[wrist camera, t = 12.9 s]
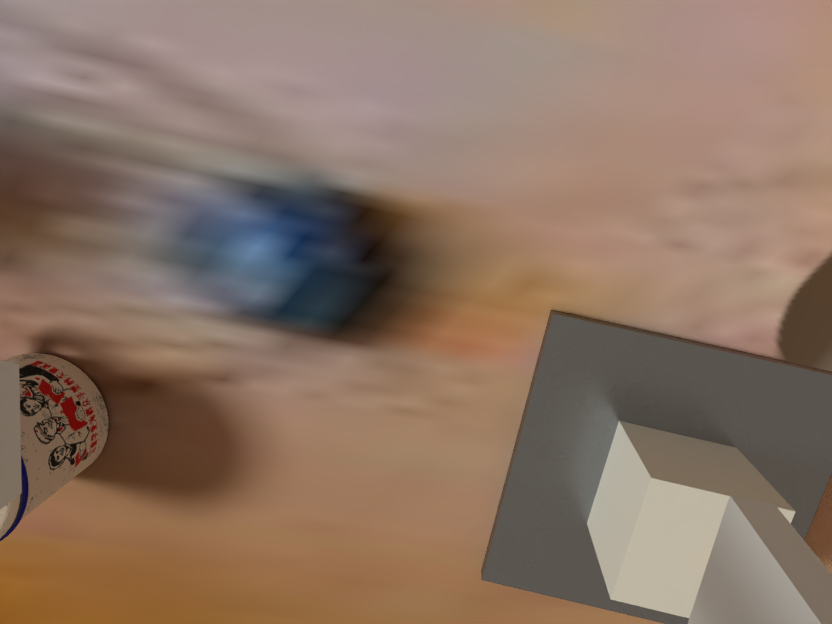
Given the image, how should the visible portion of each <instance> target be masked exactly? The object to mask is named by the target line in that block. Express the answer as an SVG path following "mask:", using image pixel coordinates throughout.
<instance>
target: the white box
mask: <svg viewBox="0 0 832 624" xmlns="http://www.w3.org/2000/svg"><path fill="white" fill-rule="evenodd" d="M730 495H731V496H737V497H742V498H747V499H753V500H758V501H764V502H769V503H774V504H775V505H776V507H777V508H778V509H779V510H780V511H781V513H782V514H783V515H784V516H785V518H786V519H787V520H788V521H789V523H790V524H791V522H792V519H793V517H794V514H795V512H796V511H795V510H794V509H793V508H792V507H791V506H790V505H789V504H788V503H787V502H786V501H785V500H784V498H783V497H782V496H781V495H780V494H779V493H778V492H777V491H776V490H775V489H774V488H773V486H772V485H771V484H770V483H769V482H768V481H767V480H766V479H765V478H764V477H763V476H762V475H761V473H760V472H759V471H758V470H757V469H756V468H755V467H754V466H753V465H752V464H751V463H750V462H749V460H748V459H747V458H746V457H745V456H744V455H743V454H742V453H741V452H740V451H739V450H738V449H737V448H736V447H731V446H727V445H723V444H718V443H714V442H710V441H705V440H701V439H696V438H692V437H688V436H683V435H679V434H675V433H670V432H666V431H662V430H657V429H653V428H649V427H644V426H640V425H636V424H631V423H627V422H623V421H619V422H618V425H617V429H616V432H615V435H614V438H613V441H612V445H611V448H610V451H609V454H608V457H607V461H606V464H605V467H604V470H603V473H602V477H601V480H600V483H599V486H598V489H597V492H596V496H595V499H594V502H593V505H592V508H591V512H590V515H589V518H588V521H587V526H588V529H589V532H590V535H591V538H592V542H593V545H594V548H595V551H596V554H597V558H598V561H599V564H600V567H601V570H602V574H603V577H604V580H605V583H606V586H607V590H608V593H609V596H610V599H611V600H615V601H619V602H624V603H628V604H632V605H636V606H640V607H644V608H648V609H653V610H657V611H661V612H665V613H669V614H673V615H677V616H682V617H686V618H689V617H690V614H691V611H692V608H693V605H694V602H695V599H696V596H697V593H698V590H699V587H700V584H701V581H702V578H703V575H704V572H705V569H706V566H707V563H708V560H709V557H710V554H711V551H712V548H713V545H714V542H715V539H716V536H717V533H718V530H719V527H720V524H721V521H722V518H723V515H724V512H725V509H726V506H727V503H728V500H729V497H730Z"/></svg>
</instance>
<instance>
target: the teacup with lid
mask: <svg viewBox="0 0 832 624" xmlns="http://www.w3.org/2000/svg"><path fill="white" fill-rule="evenodd" d="M4 361H6V362H11V363H17V364H19V382H20V432H21V481H22V493H21V494H20V495H19V496H17V497H16V498H15V499H13V500H12V501H11V502H10V503H8V504H7V505H6V506H4V507H3V508H2V509H1V510H0V541H1V540H3V539H4V538H5V537H7V536H8V535H9V534H10V533H11V532H12V531H13V530H14V529H15V527H16V526H17V525H18V523H19V522H20V520H21V519H22V518H23V517H25V516H26V515H27V514H29V513H30V512H31V511H32V510H34V509H35V508H36V507H37V506H39V505H40V504H41V503H42V502H44V501H45V500H46V499H48V498H49V497H50V496H51V495H53V494H54V493H55V492H56V491H58V490H59V489H60V488H61V487H63V486H64V485H65V484H67V483H68V482H69V481H70V480H72V479H73V478H74V477H75V476H77V475H78V474H79V473H81V472H82V471H83V470H84V469H86V468H87V467H88V466H89V465H91V464H92V463H93V462H94V461H95V460H96V458H97V457H98V456H99V454H100V453H101V451H102V449H103V447H104V445H105V442H106V439H107V435H108V424H109V422H108V414H107V409H106V405H105V403H104V400H103V398H102V396H101V394H100V392H99V390H98V389H97V387H96V386H95V384H94V383H93V382H92V380H91V379H90V378H89V377H88V376H87V375H86V374H85V373H84V372H83V371H81V370H80V369H79V368H78V367H76V366H75V365H73V364H72V363H70V362H68V361H66V360H64V359H62V358H59V357H56V356H53V355H48V354H42V353H27V354H22V355H18V356H14V357H12V358H9V359H7V360H4Z"/></svg>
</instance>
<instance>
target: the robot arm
mask: <svg viewBox="0 0 832 624" xmlns="http://www.w3.org/2000/svg"><path fill="white" fill-rule="evenodd" d="M21 493H22V481H21V432H20V382H19V364H17V363H11V362H6V361H0V510H1V509H2V508H3V507H4V506H6V505H7V504H8V503H10V502H11V501H12V500H13V499H15V498H16V497H17V496H19V495H20V494H21ZM688 624H832V574H831V573H830V572H829V570H828V569H827V568H826V567H825V565H824V564H823V563H822V562H821V561H820V559H819V558H818V557H817V556H816V554H815V553H814V552H813V551H812V550H811V548H810V547H809V546H808V545H807V543H806V542H805V541H804V540H803V538H802V537H801V536H800V535H799V534H798V532H797V531H796V530H795V529H794V527H793V526H792V525H791V524H790V523H789V521H788V520H787V519H786V518H785V516H784V515H783V514H782V513H781V511H780V510H779V509H778V508H777V507H776V505H775V504H774V503H769V502H764V501H758V500H753V499H747V498H742V497H737V496H731V495H730V497H729V500H728V503H727V506H726V509H725V512H724V515H723V518H722V521H721V524H720V527H719V530H718V533H717V536H716V539H715V542H714V545H713V548H712V551H711V554H710V557H709V560H708V563H707V566H706V569H705V572H704V575H703V578H702V581H701V584H700V587H699V590H698V593H697V596H696V599H695V602H694V605H693V608H692V611H691V614H690V617H689V620H688Z"/></svg>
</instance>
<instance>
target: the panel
mask: <svg viewBox="0 0 832 624" xmlns="http://www.w3.org/2000/svg"><path fill="white" fill-rule="evenodd" d="M619 421H623V422H627V423H631V424H636V425H640V426H644V427H649V428H653V429H657V430H662V431H666V432H670V433H675V434H679V435H683V436H688V437H692V438H696V439H701V440H705V441H710V442H714V443H718V444H723V445H727V446H731V447H736V448H737V449H738V450H739V451H740V452H741V453H742V454H743V455H744V456H745V457H746V458H747V459H748V460H749V462H750V463H751V464H752V465H753V466H754V467H755V468H756V469H757V470H758V471H759V472H760V473H761V475H762V476H763V477H764V478H765V479H766V480H767V481H768V482H769V483H770V484H771V485H772V486H773V488H774V489H775V490H776V491H777V492H778V493H779V494H780V495H781V496H782V497H783V498H784V500H785V501H786V502H787V503H788V504H789V505H790V506H791V507H792V508H793V509H794V510H795V511H796V512H795V514H794V517H793V519H792V522H791V525H792V526H793V527H794V529H795V530H796V531H797V532H798V534H799V535H800V536H801V537H802V538H803V540H805V537H806V535H807V532H808V530H809V528H810V525H811V523H812V520H813V518H814V515H815V513H816V510H817V508H818V505H819V503H820V501H821V498H822V496H823V493H824V491H825V488H826V486H827V483H828V481H829V478H830V476H831V474H832V372H830V371H826V370H821V369H817V368H812V367H808V366H803V365H799V364H794V363H790V362H785V361H781V360H776V359H772V358H767V357H763V356H758V355H754V354H749V353H744V352H740V351H735V350H731V349H726V348H722V347H717V346H713V345H708V344H704V343H699V342H695V341H690V340H686V339H681V338H677V337H672V336H667V335H663V334H658V333H654V332H649V331H645V330H640V329H636V328H631V327H627V326H622V325H618V324H613V323H609V322H604V321H600V320H595V319H591V318H586V317H581V316H577V315H572V314H568V313H563V312H559V311H554V310H551V312H550V315H549V319H548V323H547V327H546V330H545V334H544V338H543V342H542V345H541V349H540V353H539V357H538V360H537V364H536V368H535V372H534V375H533V379H532V383H531V386H530V390H529V394H528V398H527V401H526V405H525V409H524V413H523V416H522V420H521V424H520V428H519V431H518V435H517V439H516V443H515V446H514V450H513V454H512V458H511V461H510V465H509V469H508V473H507V476H506V480H505V484H504V488H503V491H502V495H501V499H500V503H499V506H498V510H497V514H496V517H495V521H494V525H493V529H492V532H491V536H490V540H489V544H488V547H487V551H486V555H485V559H484V562H483V566H482V570H481V573H482V580H484V581H489V582H493V583H497V584H501V585H505V586H510V587H514V588H518V589H522V590H526V591H531V592H535V593H539V594H543V595H547V596H552V597H556V598H560V599H564V600H568V601H573V602H577V603H581V604H585V605H589V606H594V607H598V608H602V609H606V610H610V611H615V612H619V613H623V614H627V615H631V616H636V617H640V618H644V619H648V620H652V621H657V622H661V623H665V624H688V620H689V618H686V617H682V616H677V615H673V614H669V613H665V612H661V611H657V610H653V609H648V608H644V607H640V606H636V605H632V604H628V603H624V602H619V601H615V600H611V599H610V596H609V593H608V590H607V586H606V583H605V580H604V577H603V574H602V570H601V567H600V564H599V561H598V558H597V554H596V551H595V548H594V545H593V542H592V538H591V535H590V532H589V529H588V526H587V521H588V518H589V515H590V512H591V508H592V505H593V502H594V499H595V496H596V492H597V489H598V486H599V483H600V480H601V477H602V473H603V470H604V467H605V464H606V461H607V457H608V454H609V451H610V448H611V445H612V441H613V438H614V435H615V432H616V429H617V425H618V422H619Z"/></svg>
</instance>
